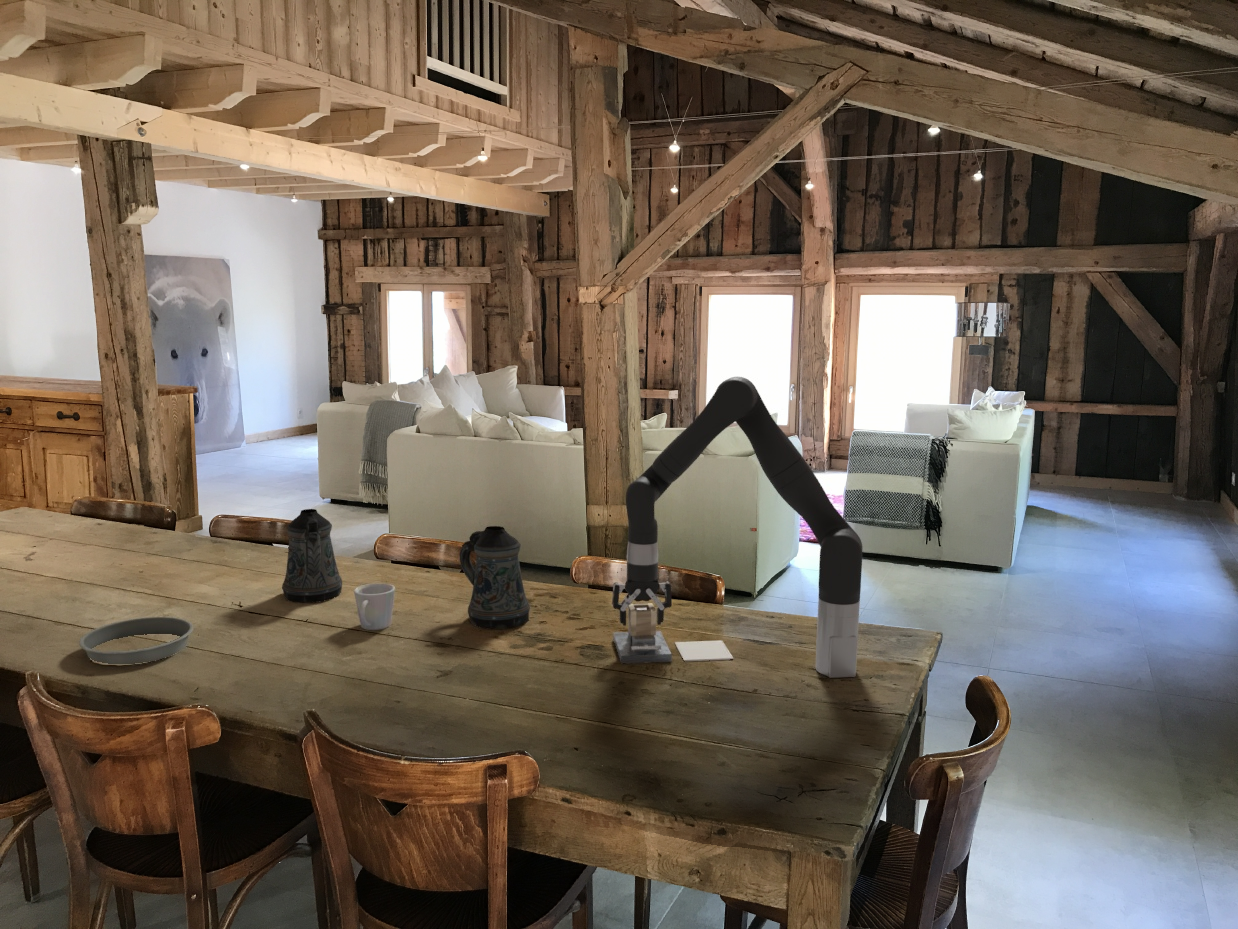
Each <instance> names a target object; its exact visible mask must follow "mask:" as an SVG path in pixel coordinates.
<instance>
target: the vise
mask: <svg viewBox="0 0 1238 929" xmlns="http://www.w3.org/2000/svg"><path fill="white" fill-rule="evenodd" d="M636 610H647V609H646V608H636ZM627 630H628V631H619V632H612V633H613V634H612V638H613V639H612V640H614V641H613V643H615V644H614V646H616V647H615V649H617V650H616V653H617V652H618V653H617V656H618V659H619V658H620V659H619V662H620V664H621V663H633V664H645V663H644V662H649V663H648V664H652V663H651V662H659V663H672V656H673V655H672V652H671V650H670V648H669V646H668V644H667V642H666V640H665V638H664V636H663V633H662V631H661V630H656V635H641V636H631V634H630V632H629V629H627Z"/></svg>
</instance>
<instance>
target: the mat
mask: <svg viewBox="0 0 1238 929" xmlns="http://www.w3.org/2000/svg"><path fill="white" fill-rule="evenodd" d="M674 644H675V648H677V651H678V652H679V655H680V657H681V658H683V659H682V661H683V660H684V661H685V662H706V661H709V660H710V661H731V660H730V659H733V660H734V657H733V655H732V654H731V652H730V651H729V649H728V647H727V645H726V644H725V643H724V641H723V639H722V640H702V641H701V640H699V641H697V640H695V641H675V642H674ZM684 661H683V662H684Z"/></svg>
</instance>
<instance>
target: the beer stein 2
mask: <svg viewBox="0 0 1238 929" xmlns="http://www.w3.org/2000/svg"><path fill="white" fill-rule="evenodd" d="M521 546H522V545H521V542H520V541H519V540H517V538H516V537H514V536H512V535H511V534H509V533H508V531H507V530H506V529H505V528H504V526H497V525H492V526H491V525H489V526H486V527H485V529H484V530H480V531H478V530H477V531H474V532H472V533H471V534H470V536H469V540H467V541H465V542H464V543H463V544H462V545H461V548H460V551H459V563H460V566H461V569H462V571H463V573H464V575H465V577H466V578H467V580H468V582H470V584H471V585H472V593H471V597H470V602H469V604H468V606H467V613H468V616H469V621H470V623H471V625H472V626H474V627H475V628H476V627H477V628H480V629H487V630H505V629H507V630H508V629H513V628H516V627H521V626H523V625H524V624H526V623H528V622H529V621H530V620H529V619H530V616H529V615H530V610H531V606H530V603H529V601H528V598H527V595H526V592H525V587H524V583H523V579H522V572H521V565H520V558H519V553H520V550H521ZM472 552H474V553H475V555H476V560H475V561H476V562H475V567H474V565H473V564H472V561H471V553H472Z"/></svg>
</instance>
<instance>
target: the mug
mask: <svg viewBox="0 0 1238 929" xmlns="http://www.w3.org/2000/svg"><path fill="white" fill-rule="evenodd" d="M353 594H354V598H355V604H356V608H357V613H358V618H359V619H358V620H359V622H360V623H359V624H360V627H361V628H362V629H364V630H367V631H379V630H380V631H381V630H383V629H387V628H389V627H390V626H391V624H392V620H393V619H392V618H393V613H394V612H393V611H394V610H393V609H394V602H395V594H396V587H395V585H393V584H390V583H389V584H388V583H381V582H379V583H377V582H375V583H367V584H362V585H359V586H357V587H356V588H354V590H353Z"/></svg>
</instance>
